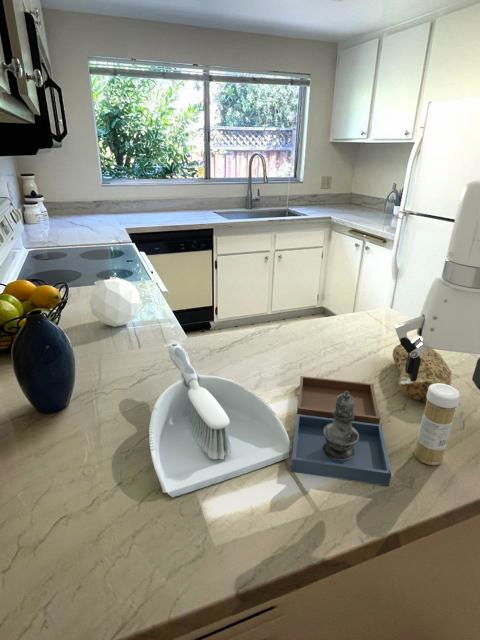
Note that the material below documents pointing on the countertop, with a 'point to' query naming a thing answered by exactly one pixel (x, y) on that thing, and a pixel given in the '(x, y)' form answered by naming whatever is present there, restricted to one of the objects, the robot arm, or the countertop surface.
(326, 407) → the tray walnut
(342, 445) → the grey stone figurine
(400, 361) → the sponge
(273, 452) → the dustpan and brush
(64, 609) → the countertop surface
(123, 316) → the geodesic sphere
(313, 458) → the tray blue
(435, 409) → the sprinkles bottle
